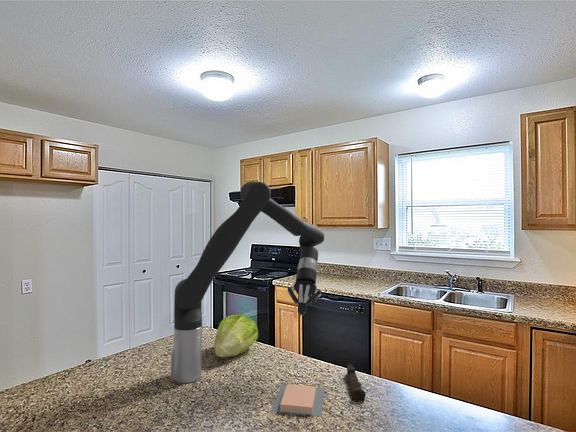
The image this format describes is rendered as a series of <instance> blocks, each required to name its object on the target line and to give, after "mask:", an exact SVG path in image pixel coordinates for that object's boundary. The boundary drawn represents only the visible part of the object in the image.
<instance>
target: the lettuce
mask: <svg viewBox="0 0 576 432" xmlns="http://www.w3.org/2000/svg"><path fill="white" fill-rule="evenodd" d="M258 339H259V329H258V326H257V323H256V321H255V320H253V319H252V318H251V317H249V316H247V315H245V314H242V313H240V314H232V315H228V316H226V317H224V318H223V319H222V320H221V321H220V322H219V325H218V327H217V331H216V334H215V337H214V342H213V346H214V350H215V351H214V352H215V355H216V356H217V357H220V358H230V357H235V356H237V355H240V354H243V353H245V352H246V351H247V350H248V349H249V348H251V347H252V345H254V344H255V342H256V341H257V340H258Z"/></svg>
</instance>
